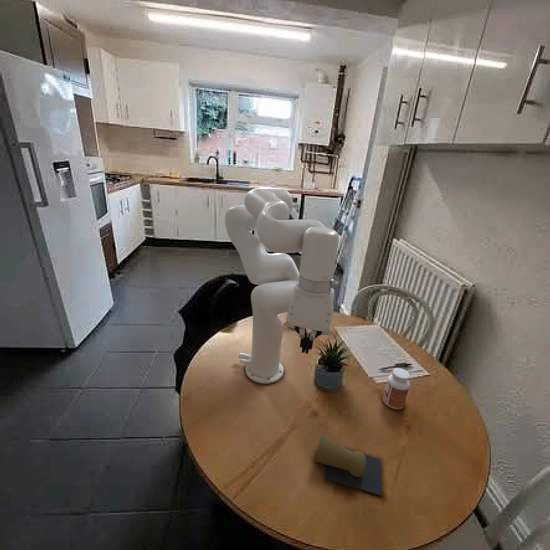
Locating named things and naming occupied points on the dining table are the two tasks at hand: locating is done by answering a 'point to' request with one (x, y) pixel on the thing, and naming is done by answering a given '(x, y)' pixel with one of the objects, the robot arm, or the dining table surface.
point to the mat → (364, 483)
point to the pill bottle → (396, 388)
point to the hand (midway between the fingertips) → (305, 349)
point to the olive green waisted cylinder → (340, 457)
